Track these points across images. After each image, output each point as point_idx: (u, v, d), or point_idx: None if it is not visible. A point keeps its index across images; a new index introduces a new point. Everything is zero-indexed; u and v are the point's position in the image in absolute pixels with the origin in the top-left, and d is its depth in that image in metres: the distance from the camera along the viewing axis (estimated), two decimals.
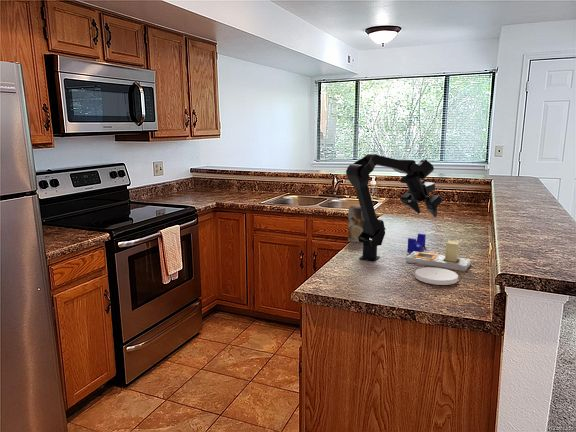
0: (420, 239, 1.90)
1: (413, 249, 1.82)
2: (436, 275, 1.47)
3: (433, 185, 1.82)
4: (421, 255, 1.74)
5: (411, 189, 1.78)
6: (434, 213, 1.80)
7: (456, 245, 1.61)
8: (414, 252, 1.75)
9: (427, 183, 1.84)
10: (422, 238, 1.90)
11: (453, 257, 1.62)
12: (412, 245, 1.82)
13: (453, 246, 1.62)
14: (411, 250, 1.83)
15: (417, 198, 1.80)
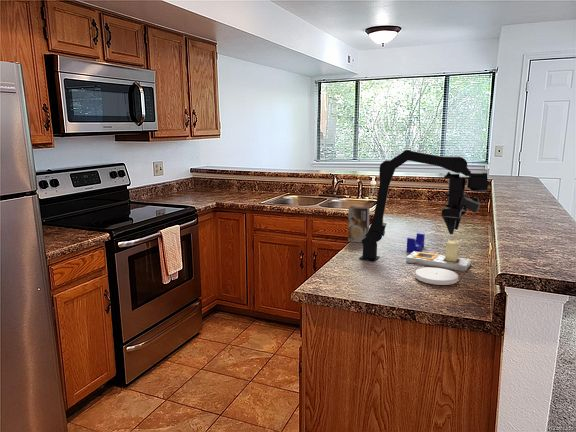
0: (419, 239, 1.90)
1: (412, 249, 1.82)
2: (436, 275, 1.47)
3: (474, 205, 1.55)
4: (421, 255, 1.74)
5: (448, 189, 1.61)
6: (449, 227, 1.58)
7: (456, 245, 1.61)
8: (414, 252, 1.75)
9: (475, 202, 1.58)
10: (421, 238, 1.90)
11: (453, 257, 1.62)
12: (411, 244, 1.83)
13: (453, 246, 1.62)
14: (410, 250, 1.83)
15: (448, 203, 1.61)
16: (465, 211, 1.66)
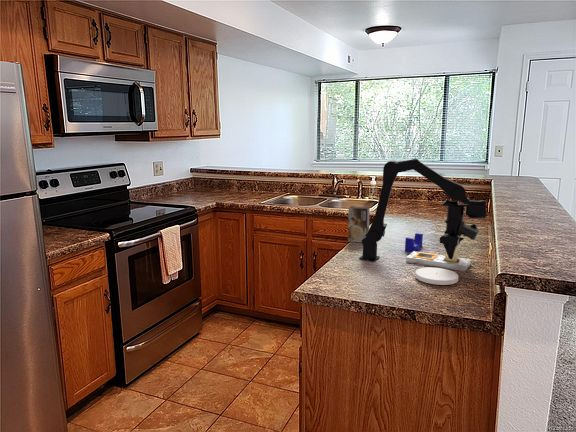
0: (417, 239, 1.91)
1: (411, 249, 1.83)
2: (436, 275, 1.47)
3: (472, 232, 1.57)
4: (421, 255, 1.74)
5: None
6: (448, 252, 1.62)
7: None
8: (414, 252, 1.75)
9: (473, 229, 1.59)
10: (419, 238, 1.90)
11: (453, 257, 1.62)
12: (409, 244, 1.83)
13: None
14: (409, 250, 1.83)
15: (446, 229, 1.63)
16: (462, 238, 1.65)
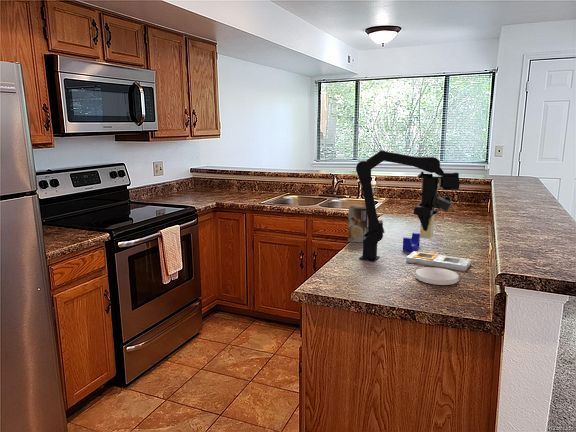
0: (414, 238, 1.91)
1: (408, 248, 1.83)
2: (436, 275, 1.47)
3: (445, 204, 1.60)
4: (421, 255, 1.74)
5: None
6: (423, 224, 1.65)
7: (430, 217, 1.64)
8: (414, 252, 1.75)
9: (447, 201, 1.63)
10: (416, 237, 1.91)
11: (428, 229, 1.66)
12: (407, 244, 1.83)
13: None
14: (406, 249, 1.84)
15: (421, 201, 1.66)
16: (437, 211, 1.69)
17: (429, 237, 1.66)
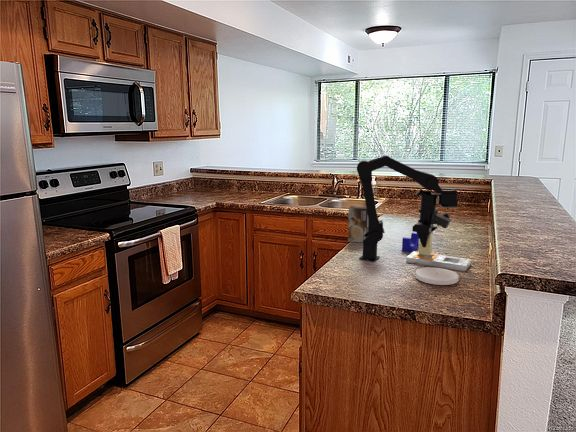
0: (413, 238, 1.92)
1: (408, 248, 1.83)
2: (436, 275, 1.47)
3: (444, 221, 1.62)
4: (421, 255, 1.74)
5: (420, 206, 1.67)
6: (422, 241, 1.67)
7: None
8: (414, 252, 1.75)
9: (446, 218, 1.64)
10: (416, 237, 1.91)
11: (426, 245, 1.67)
12: (406, 244, 1.83)
13: None
14: (406, 249, 1.84)
15: (420, 218, 1.67)
16: (436, 227, 1.70)
17: (428, 253, 1.67)
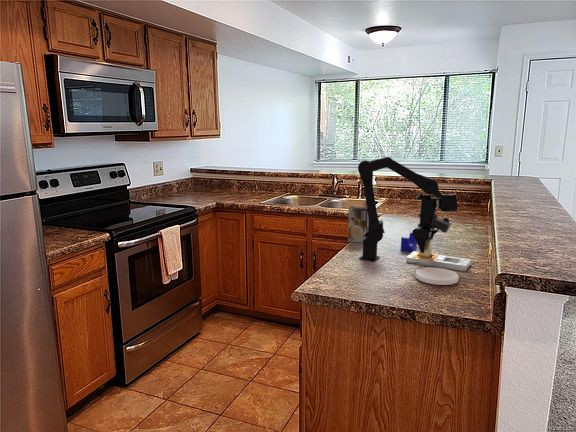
0: (412, 238, 1.92)
1: (406, 248, 1.84)
2: (436, 275, 1.47)
3: (444, 225, 1.62)
4: None
5: (420, 210, 1.68)
6: (420, 246, 1.65)
7: (429, 241, 1.66)
8: (414, 252, 1.75)
9: (445, 222, 1.64)
10: None
11: (426, 253, 1.68)
12: (405, 244, 1.84)
13: (426, 243, 1.67)
14: (404, 249, 1.84)
15: None
16: (437, 230, 1.72)
17: None
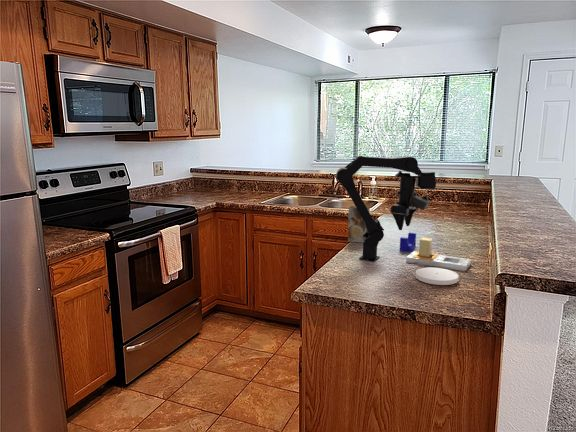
0: (410, 238, 1.92)
1: (405, 248, 1.84)
2: (436, 275, 1.47)
3: (422, 203, 1.63)
4: None
5: None
6: (398, 224, 1.66)
7: (429, 241, 1.66)
8: (414, 252, 1.75)
9: (424, 200, 1.65)
10: (413, 237, 1.92)
11: (426, 253, 1.68)
12: (404, 244, 1.84)
13: (426, 243, 1.67)
14: (403, 249, 1.84)
15: None
16: (417, 209, 1.74)
17: None
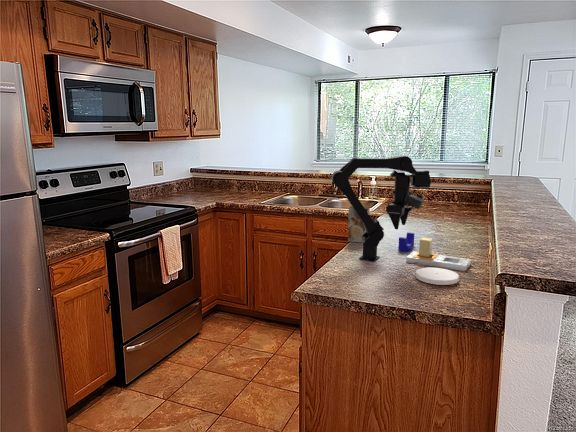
0: (409, 238, 1.92)
1: (404, 248, 1.84)
2: (437, 275, 1.47)
3: (417, 201, 1.64)
4: None
5: None
6: (394, 223, 1.67)
7: (429, 241, 1.66)
8: (414, 252, 1.75)
9: (419, 198, 1.66)
10: (411, 237, 1.92)
11: (426, 253, 1.68)
12: (403, 244, 1.84)
13: (426, 243, 1.67)
14: (402, 249, 1.85)
15: (394, 199, 1.69)
16: (412, 208, 1.74)
17: None
